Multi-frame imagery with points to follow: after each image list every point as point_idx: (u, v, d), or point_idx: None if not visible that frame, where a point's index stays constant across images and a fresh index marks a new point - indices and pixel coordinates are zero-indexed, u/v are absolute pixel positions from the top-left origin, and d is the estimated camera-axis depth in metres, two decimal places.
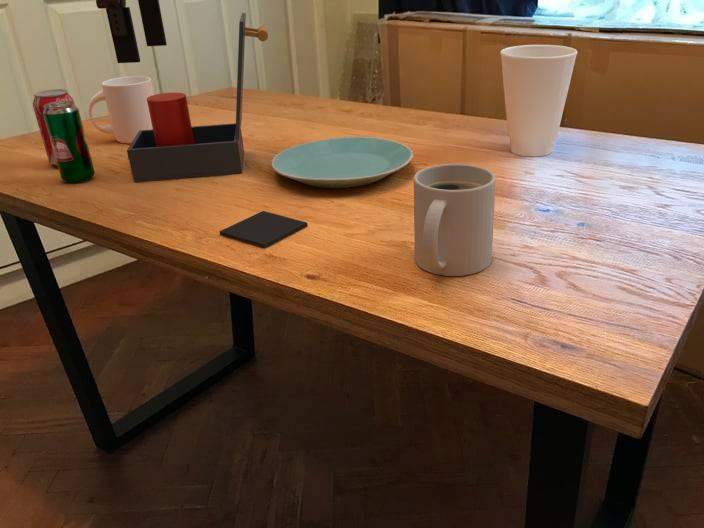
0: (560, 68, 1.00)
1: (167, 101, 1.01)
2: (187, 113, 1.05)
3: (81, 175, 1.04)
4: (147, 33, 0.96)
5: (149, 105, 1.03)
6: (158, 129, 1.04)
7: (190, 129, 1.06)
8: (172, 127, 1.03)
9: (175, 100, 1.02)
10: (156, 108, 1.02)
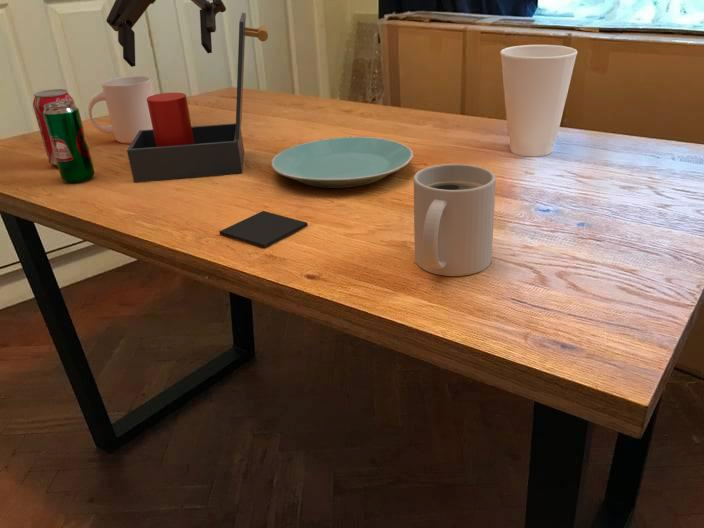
0: (560, 68, 1.00)
1: (167, 101, 1.01)
2: (187, 113, 1.05)
3: (81, 175, 1.04)
4: (128, 49, 1.11)
5: (149, 105, 1.03)
6: (158, 129, 1.04)
7: (190, 129, 1.06)
8: (172, 127, 1.03)
9: (175, 100, 1.02)
10: (156, 108, 1.02)
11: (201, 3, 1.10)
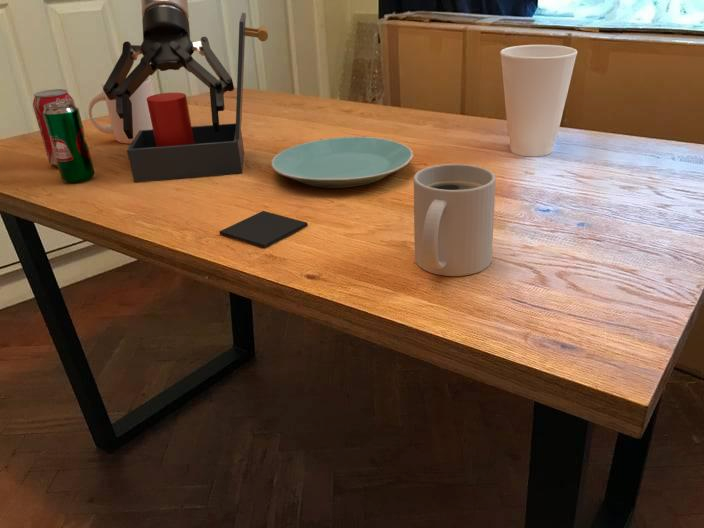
0: (560, 68, 1.00)
1: (167, 101, 1.01)
2: (187, 113, 1.05)
3: (81, 175, 1.04)
4: (128, 121, 1.04)
5: (149, 105, 1.03)
6: (158, 129, 1.04)
7: (190, 129, 1.06)
8: (172, 127, 1.03)
9: (175, 100, 1.02)
10: (156, 108, 1.02)
11: (211, 81, 1.07)
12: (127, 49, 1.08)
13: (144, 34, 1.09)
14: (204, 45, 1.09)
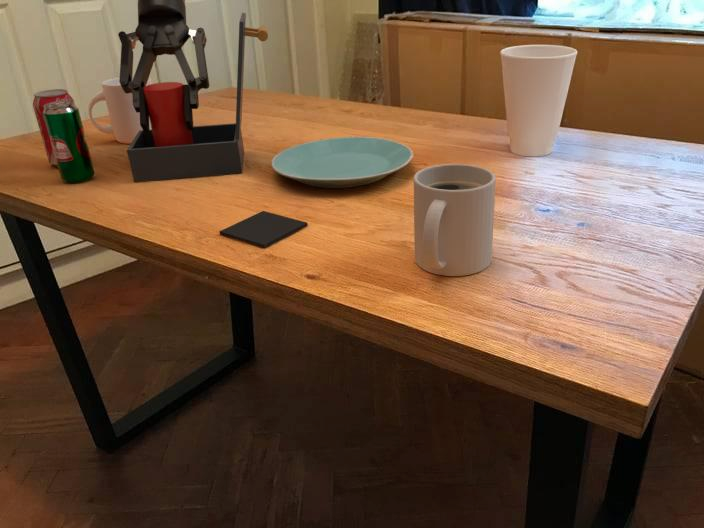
0: (560, 68, 1.00)
1: (164, 90, 1.00)
2: None
3: (81, 175, 1.04)
4: (145, 115, 1.02)
5: (146, 94, 1.02)
6: (154, 119, 1.03)
7: None
8: (169, 116, 1.02)
9: (172, 89, 1.01)
10: (152, 98, 1.01)
11: (187, 76, 1.04)
12: (125, 38, 1.05)
13: (139, 17, 1.06)
14: (197, 36, 1.06)
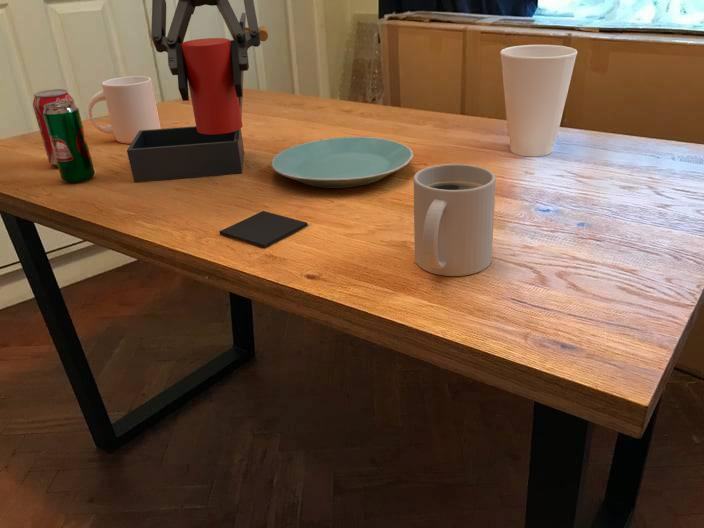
0: (560, 68, 1.00)
1: (208, 46, 0.81)
2: (231, 63, 0.84)
3: (81, 175, 1.04)
4: (184, 78, 0.82)
5: (185, 52, 0.82)
6: (195, 83, 0.83)
7: None
8: (214, 79, 0.82)
9: (218, 45, 0.81)
10: (193, 56, 0.81)
11: (234, 30, 0.84)
12: None
13: None
14: None
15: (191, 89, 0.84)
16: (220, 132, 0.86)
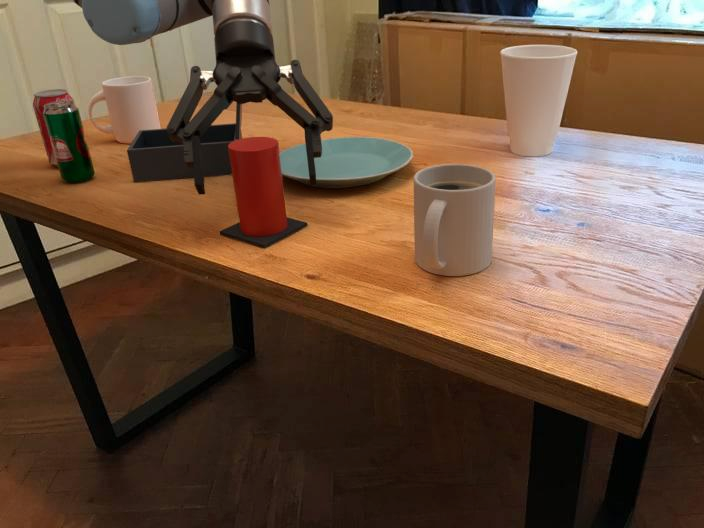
0: (560, 68, 1.00)
1: (257, 151, 0.77)
2: (279, 164, 0.81)
3: (81, 175, 1.04)
4: (200, 172, 0.79)
5: (232, 155, 0.78)
6: (242, 187, 0.80)
7: (281, 184, 0.82)
8: (261, 183, 0.79)
9: (266, 149, 0.78)
10: (241, 160, 0.78)
11: (305, 119, 0.82)
12: (196, 76, 0.82)
13: (218, 56, 0.83)
14: (295, 71, 0.84)
15: (237, 191, 0.81)
16: (266, 234, 0.82)
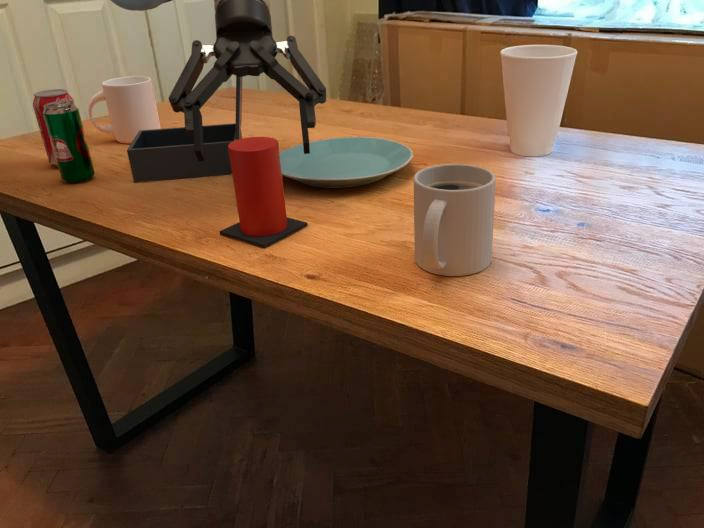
0: (560, 68, 1.00)
1: (257, 151, 0.77)
2: (279, 164, 0.81)
3: (81, 175, 1.04)
4: (200, 140, 0.84)
5: (232, 155, 0.78)
6: (242, 187, 0.80)
7: (281, 184, 0.82)
8: (261, 183, 0.79)
9: (266, 149, 0.78)
10: (241, 160, 0.78)
11: (300, 91, 0.86)
12: (197, 50, 0.87)
13: (218, 31, 0.88)
14: (291, 46, 0.88)
15: (237, 191, 0.81)
16: (266, 234, 0.82)
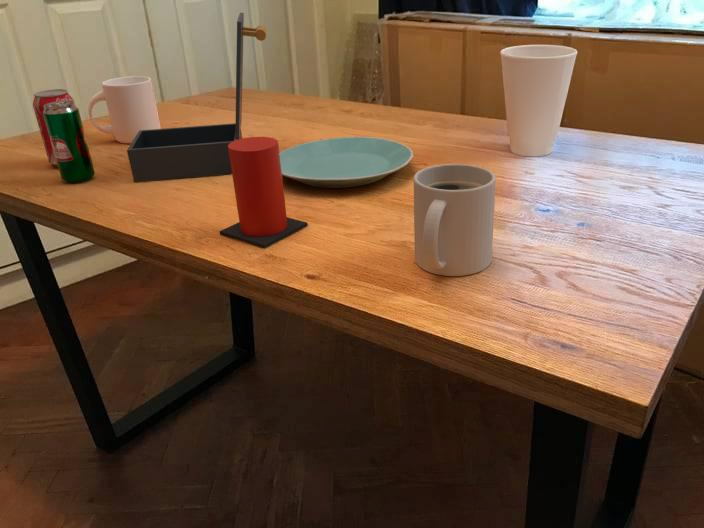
0: (560, 68, 1.00)
1: (257, 151, 0.77)
2: (279, 164, 0.81)
3: (81, 175, 1.04)
4: None
5: (232, 155, 0.78)
6: (242, 187, 0.80)
7: (281, 184, 0.82)
8: (261, 183, 0.79)
9: (266, 149, 0.78)
10: (241, 160, 0.78)
11: None
12: None
13: None
14: None
15: (237, 191, 0.81)
16: (266, 234, 0.82)
